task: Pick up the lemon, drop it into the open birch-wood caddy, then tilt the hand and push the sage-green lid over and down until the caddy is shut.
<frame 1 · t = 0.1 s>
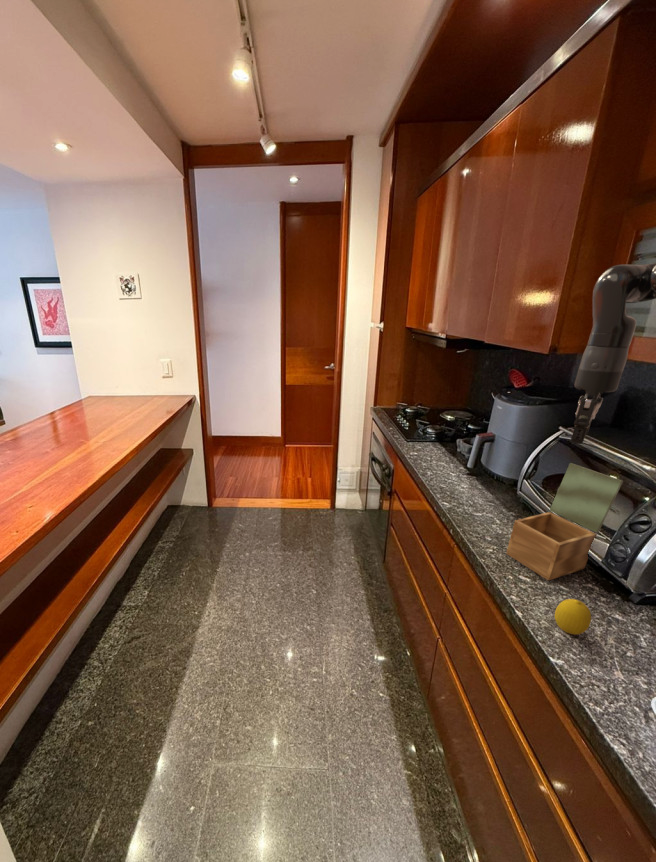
hand: (578, 438, 90), 32 cm above the worktop, tool pointing down, fingers open, 8 cm apart
lemon: (566, 633, 78), on the worktop
caddy: (543, 561, 99), on the worktop
caddy lid: (583, 496, 95), point 17 cm above the worktop, hinge at 100.0°
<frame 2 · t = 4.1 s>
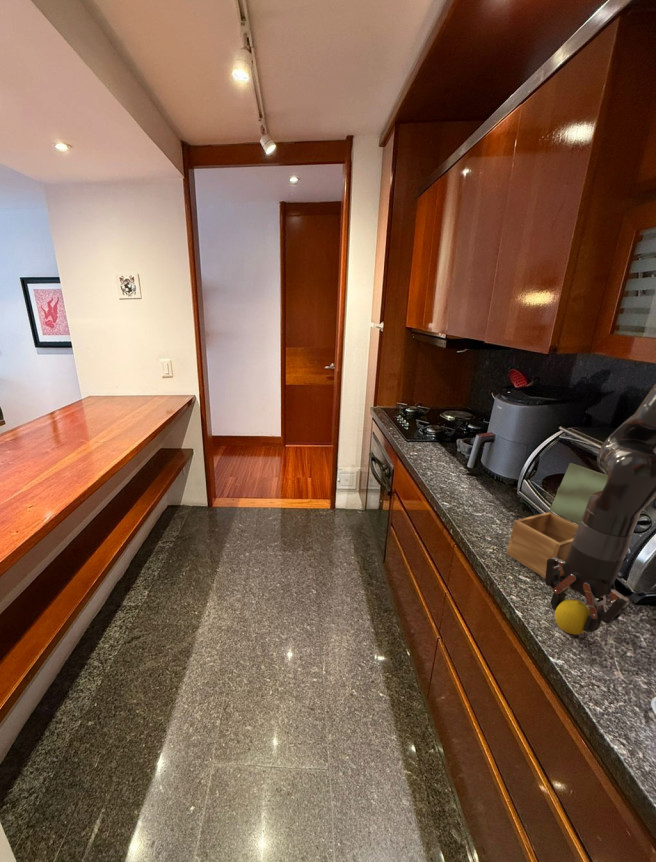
hand: (571, 618, 76), 4 cm above the worktop, tool pointing down, fingers closed on lemon, 5 cm apart
lemon: (566, 633, 78), on the worktop, touching gripper
everything else where it was.
when the fingers open (11 cm above the worktop, at t = 11.9 s): lemon drops 6 cm, resting on caddy.
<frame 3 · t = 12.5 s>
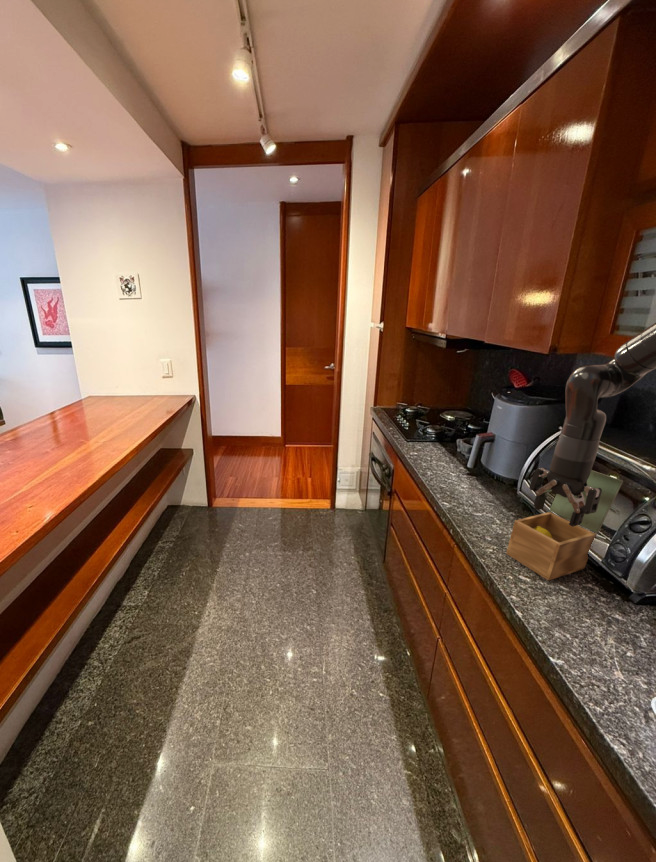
hand: (555, 516, 94), 13 cm above the worktop, tool pointing down, fingers open, 8 cm apart
lemon: (542, 558, 98), point 1 cm above the worktop, touching caddy
everything else where it was.
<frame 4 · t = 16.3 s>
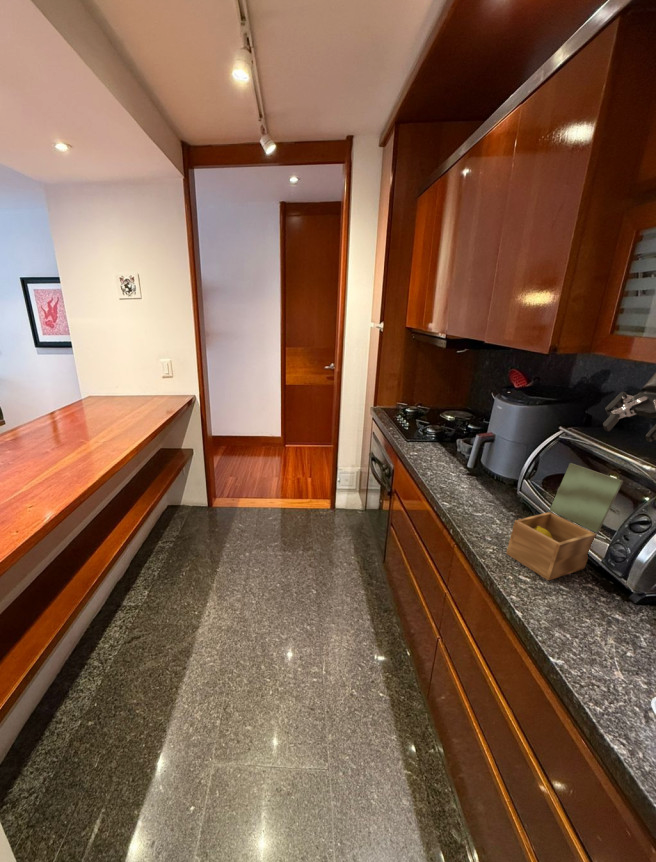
hand: (625, 434, 91), 33 cm above the worktop, tool tilted 45°, fingers open, 8 cm apart
nothing on the worktop moved.
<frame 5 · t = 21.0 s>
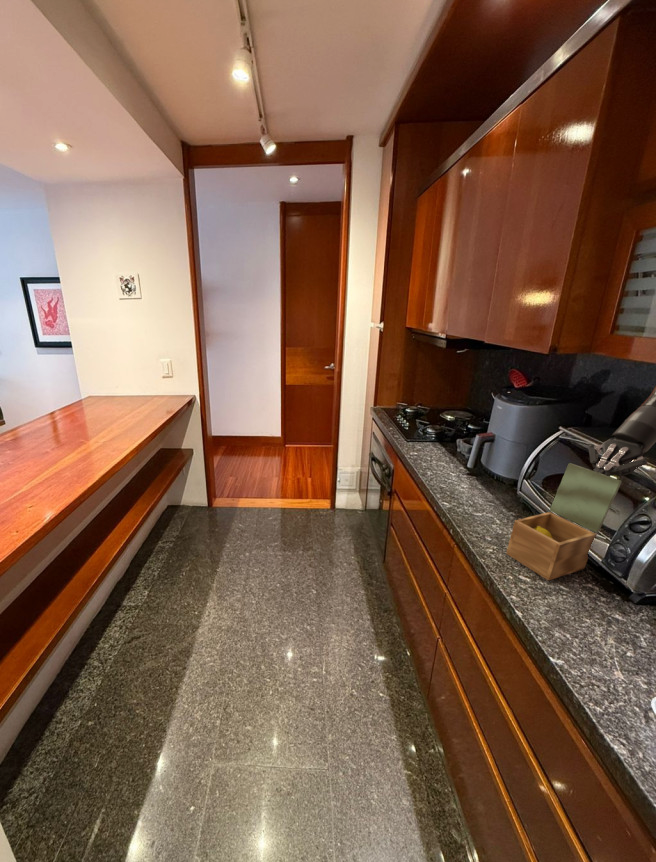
hand: (592, 482, 94), 21 cm above the worktop, tool tilted 45°, fingers closed
caddy lid: (583, 496, 95), point 17 cm above the worktop, hinge at 98.1°
everything else where it was.
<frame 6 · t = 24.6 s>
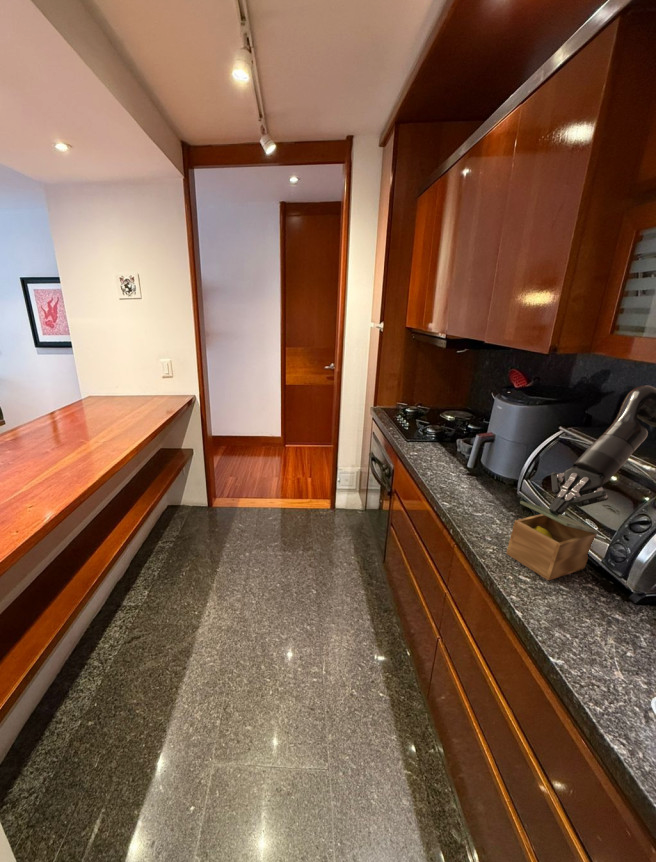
hand: (553, 512, 93), 15 cm above the worktop, tool tilted 45°, fingers closed
caddy lid: (558, 516, 94), point 13 cm above the worktop, hinge at 21.4°, touching gripper
everything else where it was.
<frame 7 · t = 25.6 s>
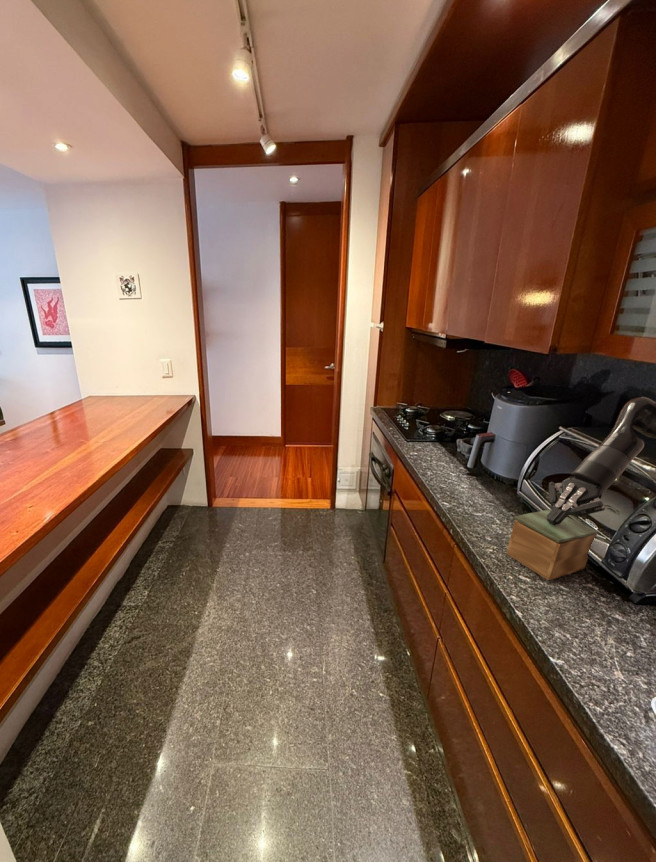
hand: (550, 522, 94), 12 cm above the worktop, tool tilted 45°, fingers closed
caddy lid: (554, 524, 95), point 11 cm above the worktop, hinge at 2.9°, touching gripper
everything else where it was.
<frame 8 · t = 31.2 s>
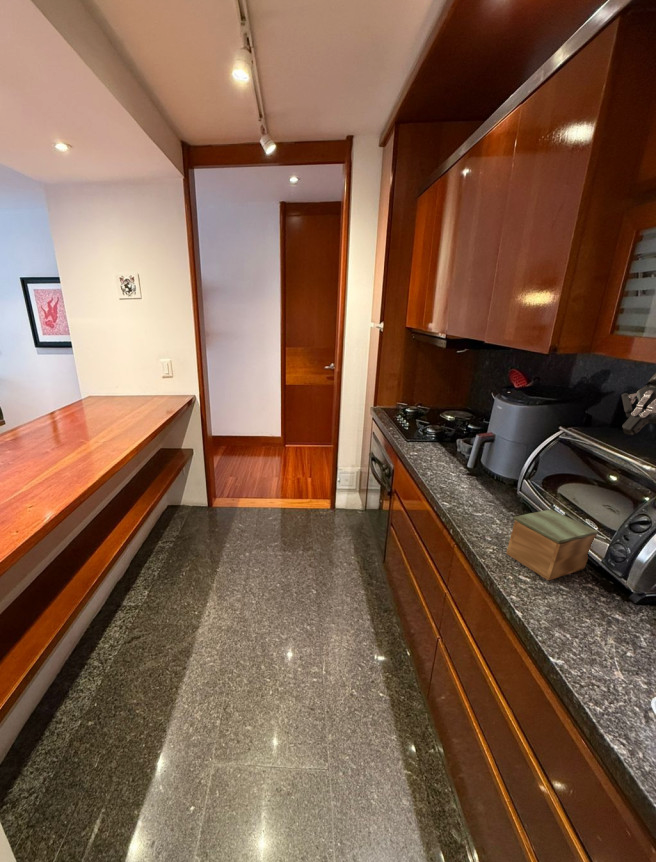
hand: (627, 432, 89), 34 cm above the worktop, tool tilted 45°, fingers closed
caddy lid: (554, 525, 95), point 11 cm above the worktop, hinge at 2.2°
everything else where it was.
at the end: lemon inside the target area in the caddy (1.0 cm from its centre), point 1.3 cm above the caddy's base; caddy lid at +2° (first picture: +100°) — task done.
